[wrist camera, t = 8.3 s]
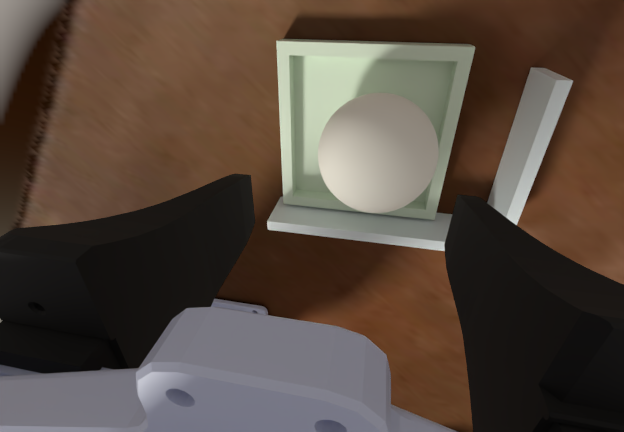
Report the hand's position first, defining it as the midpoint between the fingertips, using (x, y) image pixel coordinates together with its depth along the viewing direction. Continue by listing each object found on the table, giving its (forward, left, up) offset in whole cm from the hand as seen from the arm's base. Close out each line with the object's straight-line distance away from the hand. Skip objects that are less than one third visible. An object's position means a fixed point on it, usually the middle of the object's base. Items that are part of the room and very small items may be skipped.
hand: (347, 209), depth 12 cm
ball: (0, 0, -8) cm, 8 cm away
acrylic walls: (+2, -1, -8) cm, 9 cm away
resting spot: (0, 0, -8) cm, 8 cm away
